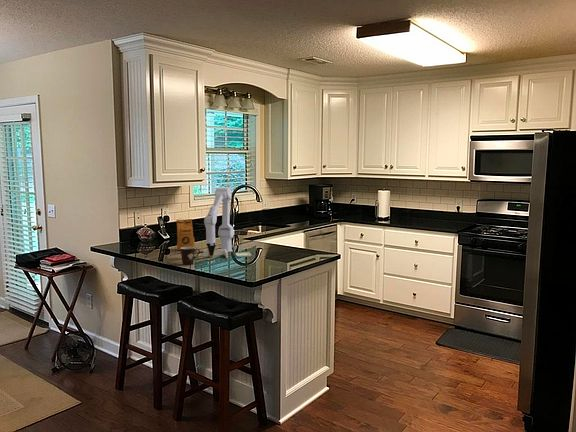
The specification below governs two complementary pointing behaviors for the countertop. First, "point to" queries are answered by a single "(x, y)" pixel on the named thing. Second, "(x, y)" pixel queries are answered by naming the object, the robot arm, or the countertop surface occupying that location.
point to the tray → (243, 254)
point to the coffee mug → (188, 255)
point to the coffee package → (185, 233)
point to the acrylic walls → (217, 252)
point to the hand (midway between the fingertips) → (211, 254)
